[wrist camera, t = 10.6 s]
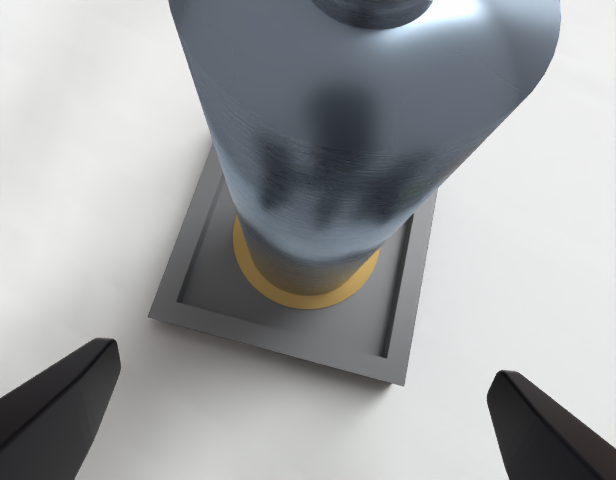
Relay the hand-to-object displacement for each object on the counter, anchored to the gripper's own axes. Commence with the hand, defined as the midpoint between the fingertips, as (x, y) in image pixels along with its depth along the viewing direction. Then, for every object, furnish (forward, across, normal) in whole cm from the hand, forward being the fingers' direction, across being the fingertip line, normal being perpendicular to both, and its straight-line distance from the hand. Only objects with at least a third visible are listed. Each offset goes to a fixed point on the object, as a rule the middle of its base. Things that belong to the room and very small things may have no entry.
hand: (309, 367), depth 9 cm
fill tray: (+10, 0, +2) cm, 10 cm away
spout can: (+9, 0, +1) cm, 9 cm away
